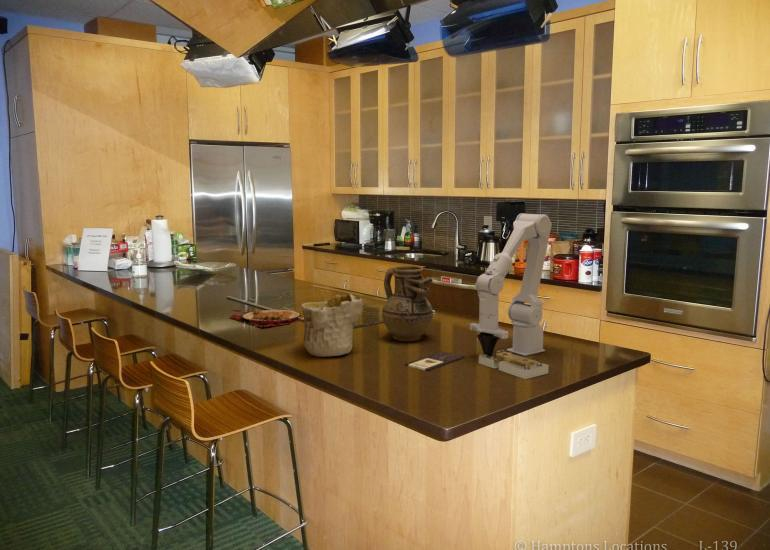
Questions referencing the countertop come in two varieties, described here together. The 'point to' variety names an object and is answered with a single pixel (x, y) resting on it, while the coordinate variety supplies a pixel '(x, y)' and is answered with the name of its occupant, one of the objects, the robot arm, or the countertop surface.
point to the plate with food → (268, 317)
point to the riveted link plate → (514, 359)
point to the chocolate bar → (434, 361)
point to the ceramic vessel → (330, 325)
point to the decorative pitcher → (407, 303)
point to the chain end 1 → (490, 359)
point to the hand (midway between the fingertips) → (488, 357)
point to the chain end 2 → (524, 369)
